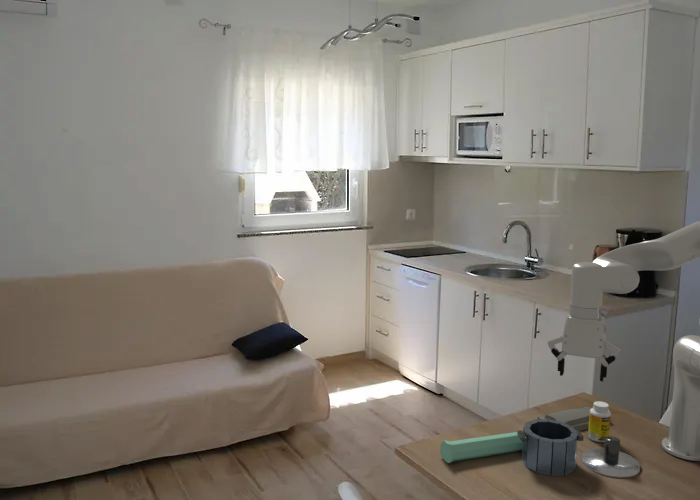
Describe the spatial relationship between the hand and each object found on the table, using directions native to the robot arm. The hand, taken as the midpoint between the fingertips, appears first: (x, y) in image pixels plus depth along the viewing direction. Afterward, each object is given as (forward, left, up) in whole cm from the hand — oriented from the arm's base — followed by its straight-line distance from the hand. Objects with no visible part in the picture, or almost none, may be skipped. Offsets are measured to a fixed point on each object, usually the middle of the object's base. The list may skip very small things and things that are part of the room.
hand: (581, 376), depth 166 cm
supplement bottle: (-11, -12, -23) cm, 28 cm away
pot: (+8, +1, -23) cm, 24 cm away
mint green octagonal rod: (+22, -4, -23) cm, 32 cm away
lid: (-8, +2, -23) cm, 25 cm away
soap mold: (-8, -22, -24) cm, 34 cm away
